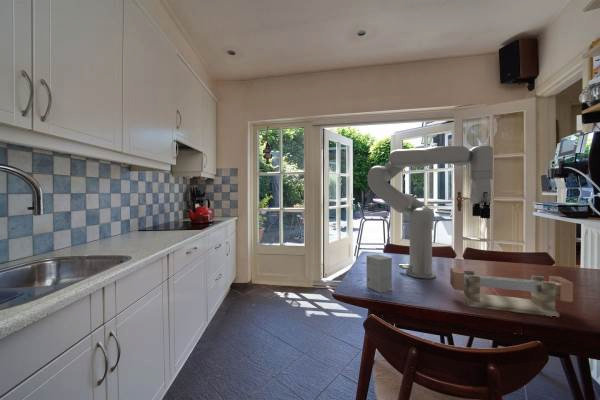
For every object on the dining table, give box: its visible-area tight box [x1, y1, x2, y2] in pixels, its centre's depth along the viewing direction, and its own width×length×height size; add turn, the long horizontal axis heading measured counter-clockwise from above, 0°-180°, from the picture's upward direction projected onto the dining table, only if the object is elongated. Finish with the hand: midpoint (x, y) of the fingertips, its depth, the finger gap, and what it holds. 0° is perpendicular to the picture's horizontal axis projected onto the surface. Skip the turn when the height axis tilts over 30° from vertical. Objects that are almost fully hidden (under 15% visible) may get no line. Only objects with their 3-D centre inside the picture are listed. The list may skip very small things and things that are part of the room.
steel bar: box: [449, 267, 574, 303], centre depth 85 cm, size 32×6×6 cm, turn 71°
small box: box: [366, 253, 393, 294], centre depth 101 cm, size 8×6×13 cm
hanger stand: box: [461, 269, 560, 318], centre depth 85 cm, size 24×10×10 cm, turn 71°
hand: (480, 217), depth 104 cm, fingers open, 9 cm apart
